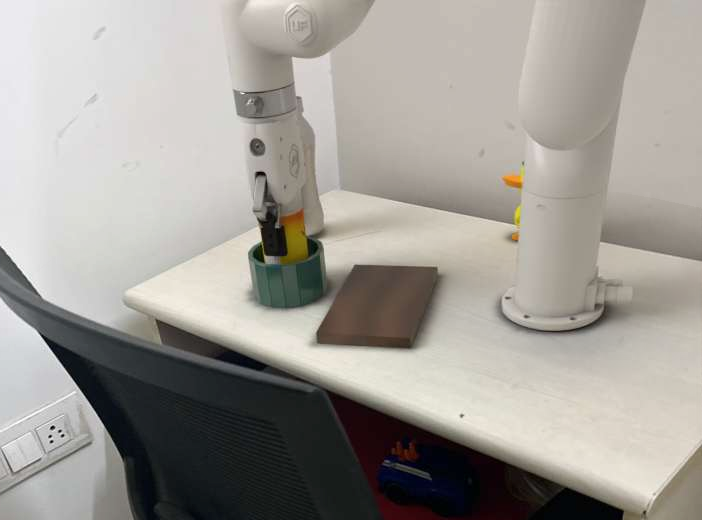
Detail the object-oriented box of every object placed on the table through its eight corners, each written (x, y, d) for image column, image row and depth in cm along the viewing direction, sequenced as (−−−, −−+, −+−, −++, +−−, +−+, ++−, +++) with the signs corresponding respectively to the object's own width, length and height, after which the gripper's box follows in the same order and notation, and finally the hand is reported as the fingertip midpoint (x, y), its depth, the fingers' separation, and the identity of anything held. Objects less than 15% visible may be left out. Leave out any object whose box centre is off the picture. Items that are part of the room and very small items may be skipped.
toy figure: (493, 237, 117) (497, 154, 109) (507, 229, 119) (512, 147, 111) (532, 246, 113) (539, 162, 105) (545, 238, 115) (553, 154, 107)
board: (437, 276, 109) (437, 266, 108) (410, 348, 94) (410, 337, 93) (355, 274, 112) (354, 264, 111) (316, 343, 98) (315, 332, 97)
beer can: (320, 285, 110) (308, 177, 100) (296, 303, 106) (282, 193, 97) (285, 278, 113) (270, 173, 103) (261, 296, 109) (244, 188, 99)
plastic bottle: (321, 241, 122) (307, 104, 109) (280, 242, 123) (261, 106, 110) (329, 225, 127) (316, 92, 114) (289, 226, 128) (272, 94, 115)
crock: (335, 275, 112) (331, 235, 108) (315, 309, 105) (310, 267, 101) (268, 273, 115) (262, 234, 111) (244, 306, 107) (236, 265, 103)
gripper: (271, 122, 86) (291, 273, 98) (315, 81, 99) (327, 220, 110) (210, 123, 88) (236, 271, 100) (260, 83, 101) (278, 219, 112)
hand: (284, 243), depth 105 cm, fingers open, 6 cm apart
